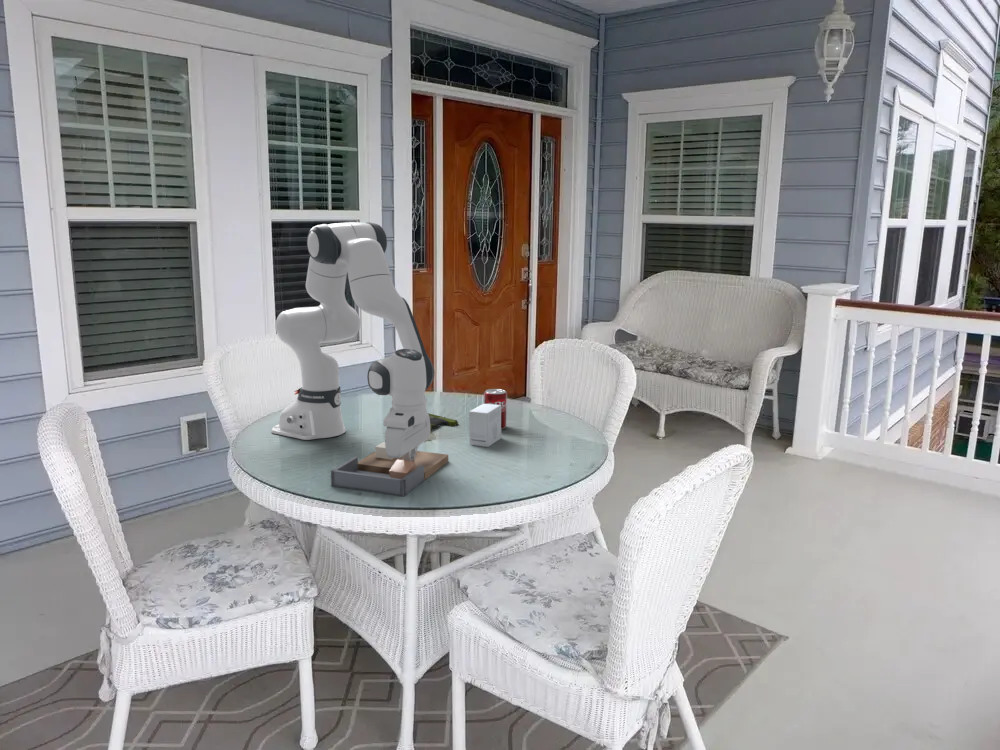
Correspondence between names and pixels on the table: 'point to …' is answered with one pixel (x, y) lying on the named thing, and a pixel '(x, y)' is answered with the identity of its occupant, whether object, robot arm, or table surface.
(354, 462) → the bin
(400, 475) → the terracotta tile
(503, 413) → the soda can
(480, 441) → the skincare box
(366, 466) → the walnut board
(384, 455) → the cream tile
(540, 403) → the table surface
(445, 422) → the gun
